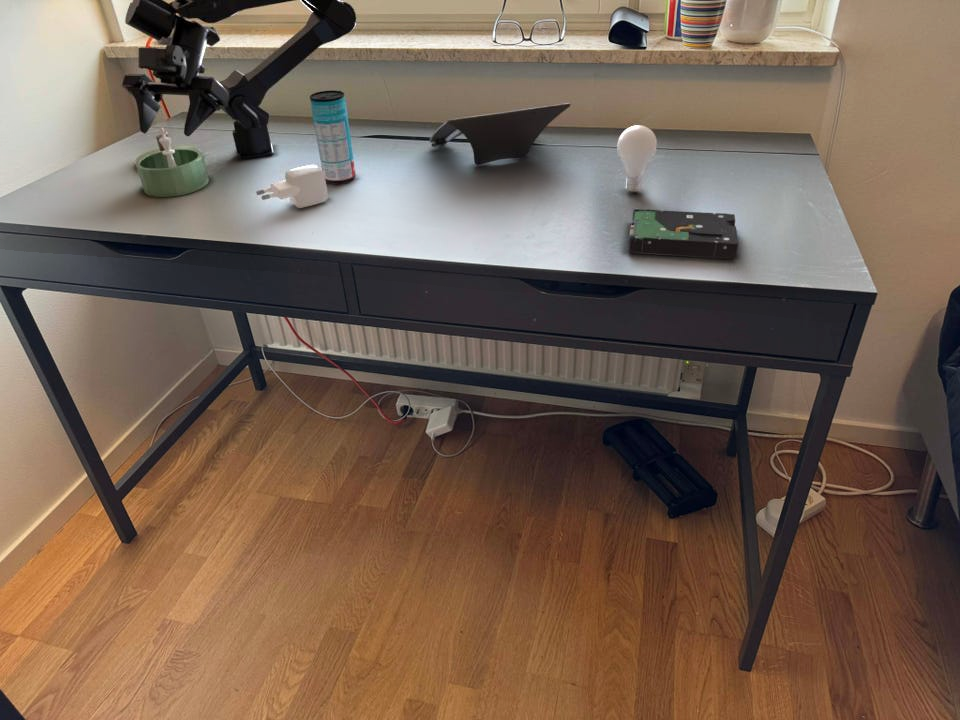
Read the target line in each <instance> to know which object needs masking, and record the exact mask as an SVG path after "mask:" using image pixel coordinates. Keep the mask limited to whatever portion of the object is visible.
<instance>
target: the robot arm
mask: <svg viewBox="0 0 960 720" xmlns="http://www.w3.org/2000/svg"><path fill="white" fill-rule="evenodd" d="M294 1H296V0H172V1H170V2H167V1H166V0H132V2H130V3H129V6H128V8H127V10H126V13H125V14H126V15H125V20H124V22H125V24H126V25H128V26H130V27H132V28H133V29H134V30H137V31H139V32H141V33H143V34H144V35H145V36H148V37H150V38H152V39H154V40H156V41H158V42H159V41H161V40H162V39H165V40H167V39H168V38H170V36H171V39H170V43H169V44H167V45H166V46H165V48H158V47H138V53H137V54H138V58H137V59H138V60H137V61H138V63H137V64H138V68H139V69H146V70H149V71H152V74H151V75H152V76H154V77H155V79H159V80H160V81H159V82H155V81H154V80H153V79H152V78H150V77H149V76H148V75H146V74H145V73H128V74H124V76H123V80H122V84H121V88H123V89H124V90H126V91H127V93H128V94H130V95H131V96H132V97H133V98H134V101H135V104H136V107H137V114H138V123H139V131H140V132H141V133H143V134H147V133H148V132H149V130H150V129H151V126H152V125H153V123H154V120H155V119H156V117H157V115H158V113H159V111H160V109H161V107H162V105H161V104H160V102H161V101H162V100H163V98H164V97H163V96H164V95H169V96H188V100H189V106H188V110H187V114H186V117H185V118H186V119H185V123H184V129H183V134H184V135H185V136H186V137H190V136H191V135H192V134H193V133H194V132H195V131H196V130H197V129H198V128H199V127H200V126H201V125H203V123H204V122H205V121H206V120H207V119H209V118H210V117H211V116H212V115H213V114H214V113H215V112H217V111H221V110H222V111H223V112H224V113H225V114H227V116H229V117H230V118H231V119H232V120H233V128H234V129H232V138H233V141H234V146H235V149H236V154H238V155H239V158H240V159H241V160H243V159H251V158H258V157H260V158H261V157H267V156H274V149H273V143H272V142H271V138H270V132H269V128H268V124H269V119H270V113H268V112H267V111H266V110H264V109H263V108H261V107H260V106H261V104H262V102H263V100H264V98H265V96H266V95H267V92H268V91H269V90H270V89H271V88H273V87H274V86H275V85H276V84H277V83H278V82H279V81H281V80H282V79H283V78H285V76H287V75H288V74H290V73H291V71H292V70H294V69H295V68H296V67H298V66H299V65H300V64H301V63H302V62H303V61H305V60H306V59H307V58H308V57H309V56H310V55H312V54H313V53H314V52H315V51H316V50H318V49H319V48H321V46H323V45H325V44H329V43H331V42H334V41H337V40H339V39H340V38H342V37H344V36H346V35H348V34H350V33H351V32H352V31H353V30H354V29H355V27H356V25H357V23H356V22H357V15H356V11H355V9H354V7H353V6H352V5H351V4H350V3H348V2H345V1H342V0H299V1H300V2H301V3H302V4H303V5H304V6H305V7H306V8H307V9H308V10H310V11H311V14H310V16H309V18H308V19H307V21H306V23H305V25H304V26H303V27H302V28H301V29H300V30H299V31H297V33H295V34H294V35H292V36H291V38H289V39H288V40H287V41H286V42H284V43H283V44H282V45H281V46H279V47H278V48H277V49H276V50H274V52H272V53H271V54H270V55H269V56H267V58H265V59H264V60H263V61H262V62H261V63H259V64H258V65H257V66H255V68H253V69H252V70H251V71H249V72H246V73H244V74H243V73H242V72H241V71H239V70H237V69H234V70H233V71H232V72H231V73H230V75H229V76H227V77H226V78H225V79H224V80H220V81H218V80H217V79H216V78H215V77H214V76H207V75H206V76H205V75H204V76H203V75H202V76H201V75H199V74H205V71H206V68H205V66H203V64H202V62H203V58H204V55H205V52H206V51H205V50H206V47H207V46H210V47H213V46H215V45H216V44H217V43H219V42H221V37H220V36H219V34H218V33H217V32H216V30H215V27H214V26H210V27H206V26H204V25H202V24H201V23H199V22H197V21H196V20H199V21H201V22H203V23H207V24H216V23H218V22H220V21H224V20H226V19H228V18H231V17H233V16H234V15H236V14H238V13H240V12H242V11H244V10H251V9H256V8H261V7H266V6H273V5H278V4H282V3H289V2H294ZM179 15H180V16H179ZM193 19H196V20H193ZM190 20H191V21H190Z"/></svg>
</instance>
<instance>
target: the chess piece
mask: <svg viewBox="0 0 960 720" xmlns="http://www.w3.org/2000/svg"><path fill="white" fill-rule="evenodd" d="M165 134H168V135H169V132H168V131H167V130H165V128H164V127H162V126H161V127H159V130H158V131H157V135H162V138H160V139H159V142H160V143H161V145H162V146H163V148H164V149H165V151H163V152H162V154H163V155H167V160H168V166H169V168H171V167H176V166H177V165H176V163H175V161H174V158H173V156H172V154H173V153H175V151H174V150H171V149H170V148H171V144H172V138H171V137H170V136H169V137H166V135H165Z"/></svg>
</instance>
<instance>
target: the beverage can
mask: <svg viewBox="0 0 960 720" xmlns="http://www.w3.org/2000/svg"><path fill="white" fill-rule="evenodd" d="M309 100H310V101H309V102H310V108H311V114H312V119H313V126H314V132H315V137H316V142H317V149H318V156H319V160H320V165H321V166H320V167H321V169H322V171H323V172H324V176H325V182H326V183H329V184H332V185H341V184H347V183H349V182H351V181H353V180H354V179H355V178H356V173H357V172H356V165H355V160H354V152H353V145H352V137H351V131H350V124H349V116H348V110H347V109H348V108H347V104H346V98H345V93H344V91H342V90H322V91H317V92H314V93H312V94H310V95H309Z"/></svg>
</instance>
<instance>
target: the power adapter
mask: <svg viewBox="0 0 960 720" xmlns="http://www.w3.org/2000/svg"><path fill="white" fill-rule="evenodd" d="M284 178H285V179H283V180H280V181H275V182H272V183H271V184H270V187H268V188H265V189H260V190H256V191H255V192H256V196H261V200H263V201H265V200H268V199H271V198H272V199H273V198H275V197H277V198H278V199H279V200H284V199H288V198H289V201H290V202H291V203H292V205H293V206H294V207H296V208H299V209H303V208H307V207H311V206H315V205H319V204H322V203H325V202H326V201H328V199H329V198H328V197H329V195H328V189H327V182H326V181H325V176H324V172H323V171H322V167H321V168H320V166H318V165H315V164H309V165H305V166H300V167H296V168H293V169H289V170H287V171H286V172H285V175H284Z"/></svg>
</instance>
